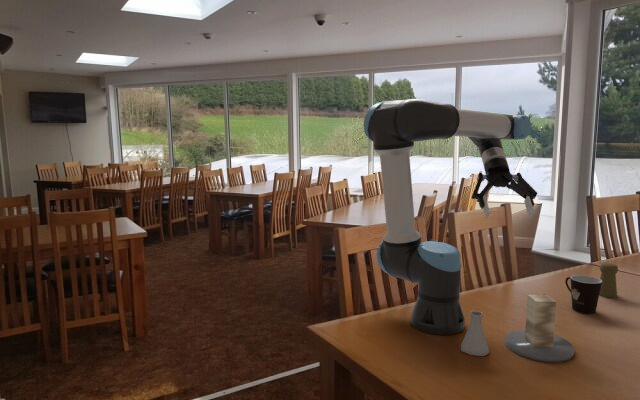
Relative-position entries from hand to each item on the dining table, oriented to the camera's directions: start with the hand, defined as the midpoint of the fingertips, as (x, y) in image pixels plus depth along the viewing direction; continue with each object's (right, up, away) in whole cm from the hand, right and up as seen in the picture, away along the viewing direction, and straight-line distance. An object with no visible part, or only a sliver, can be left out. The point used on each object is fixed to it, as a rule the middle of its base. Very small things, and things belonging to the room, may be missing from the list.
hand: (509, 215), depth 144 cm
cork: (+39, -28, +15) cm, 51 cm away
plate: (-2, -33, -24) cm, 41 cm away
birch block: (-2, -32, -24) cm, 40 cm away
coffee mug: (+24, -30, +3) cm, 38 cm away
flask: (-19, -34, -25) cm, 47 cm away
